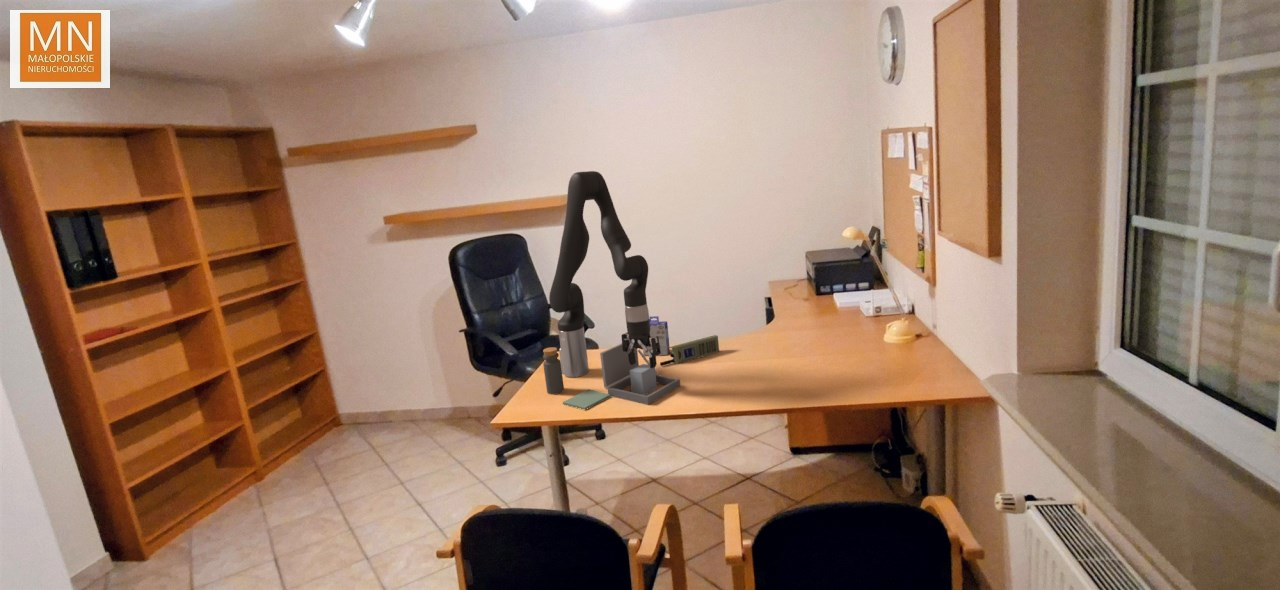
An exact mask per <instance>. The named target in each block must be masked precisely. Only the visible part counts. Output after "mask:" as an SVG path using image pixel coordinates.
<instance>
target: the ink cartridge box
mask: <svg viewBox="0 0 1280 590" xmlns="http://www.w3.org/2000/svg"><path fill="white" fill-rule="evenodd" d="M652 319H653V320H652ZM655 319H656V320H655ZM649 320H650V336H651V337H656V336H658V338H659V344H660V350H661V354H659V355H658V356H668V355H669V353H670V350H671V348H670V347H671V346H670V338H669V337H670V335H669V327H668V321H666V320H665V321H660V319H659V316H656V315H655V316H649ZM650 342H651V341H650ZM647 348H649V346H648V347H647ZM656 351H657V349H656ZM650 352H651V351H650ZM642 353H643V355H644V356H645V357H647V356H649V355H648V354H647V352H645V351H644V350H643V349H642ZM651 353H652V352H651Z"/></svg>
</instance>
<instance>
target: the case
mask: <svg viewBox="0 0 1280 590" xmlns="http://www.w3.org/2000/svg"><path fill="white" fill-rule="evenodd" d="M629 342H630V343H631V341H630V340H629ZM634 353H635V359H636V363H635V364H633V365H630V363H629V358H628V354H627V352H624V351H623V350H622V342H621V343H619V344H617V345H614V346H612V347H610V348H608V349H606V350H603V351H602V352H600V353H599V355H600V362H601V371H602V381H603V387H604V388H605V390H607V394H610V395H611V397H613V398H618V399H621V398H622V399H621V400H627V401H631V402H635V403H638V404H643V405H647V406H649V405H652V403H655V402H656V401H658V400H659V399H661V398H663V397H664V396H666V395H668V394H670V393H672V392H673V391H675V390H677V389H678V388H680V387H681V379H680V378H675V377H672V376H665V375H660V373H658V372H657V371H656V370H655V372H656V383H657V384H661V385H664V386H662V387H660V388H657V389H656V390H654V391H652V392H650V393H648V394H646V395H642V394H637V393H633V392H632V391H627V390H625V389H626V388H629V387H631V379H630V370H632V369H634V368H636V367H638V366H640V365H639V355H638V353H639V354H640V356H641V357H642V359H643V360H644V362H646V363H645V364H647V365H650V362H649V360H648V359H647V356H644V355H643V351H641V349H635V351H634Z"/></svg>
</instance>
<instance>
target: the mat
mask: <svg viewBox="0 0 1280 590" xmlns="http://www.w3.org/2000/svg"><path fill="white" fill-rule="evenodd" d="M611 397H612V396H611V395H610V394H608V393H605V392H601V391H598V390H594V389H593V390H592V389H588V388H587V389H586V390H585V391H582V392H580V393H578V394H576V395H574V396H572V397H570V398H568V399H566V400H563V401H562V405H563V404H564V406H567V405H568V406H567V407H571V406H573V407H572V408H574V407H577V408H576V409H578V408H581V409H580V410H582V409H586V410H588V409H590V408H592V407H593V406H592V405H594V406H596V405H598V404H600V403H601V402H603V400H604V401H605V400H607V399H609V398H611ZM599 402H600V403H599ZM597 403H598V404H597ZM595 404H596V405H595ZM591 406H592V407H591ZM589 407H590V408H589ZM587 408H588V409H587Z"/></svg>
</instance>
